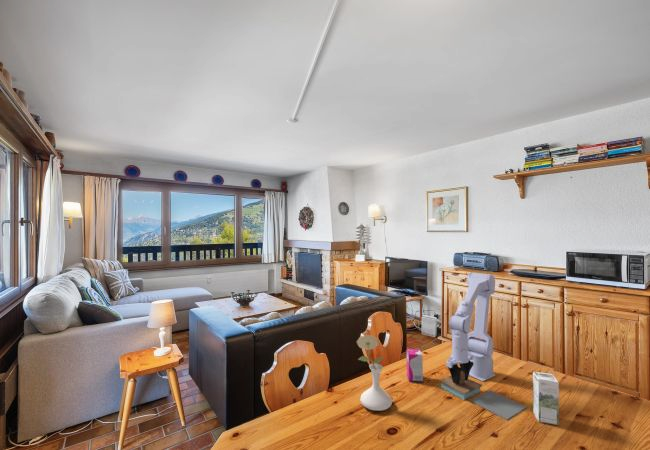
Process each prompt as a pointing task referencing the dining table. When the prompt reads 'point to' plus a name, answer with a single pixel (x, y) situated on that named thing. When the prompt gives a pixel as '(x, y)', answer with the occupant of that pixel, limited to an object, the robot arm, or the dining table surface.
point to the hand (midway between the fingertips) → (460, 381)
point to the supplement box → (414, 365)
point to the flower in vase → (374, 395)
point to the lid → (461, 384)
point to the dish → (459, 392)
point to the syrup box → (546, 398)
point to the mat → (498, 404)
